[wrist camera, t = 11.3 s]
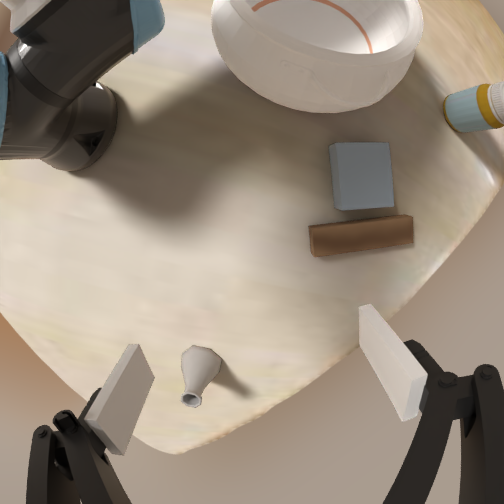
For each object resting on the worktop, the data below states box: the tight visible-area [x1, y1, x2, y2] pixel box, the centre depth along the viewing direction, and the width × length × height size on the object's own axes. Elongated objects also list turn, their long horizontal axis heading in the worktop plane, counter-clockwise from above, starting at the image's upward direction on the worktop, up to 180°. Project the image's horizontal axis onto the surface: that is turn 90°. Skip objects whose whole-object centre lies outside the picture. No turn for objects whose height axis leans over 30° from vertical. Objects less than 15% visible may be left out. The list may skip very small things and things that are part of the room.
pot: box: [211, 0, 424, 113], centre depth 25 cm, size 29×26×16 cm
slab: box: [328, 142, 394, 211], centre depth 37 cm, size 4×8×9 cm
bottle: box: [443, 81, 504, 133], centre depth 27 cm, size 7×7×15 cm
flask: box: [181, 345, 222, 408], centre depth 41 cm, size 7×7×10 cm
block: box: [309, 215, 413, 257], centre depth 39 cm, size 4×16×2 cm, turn 98°
